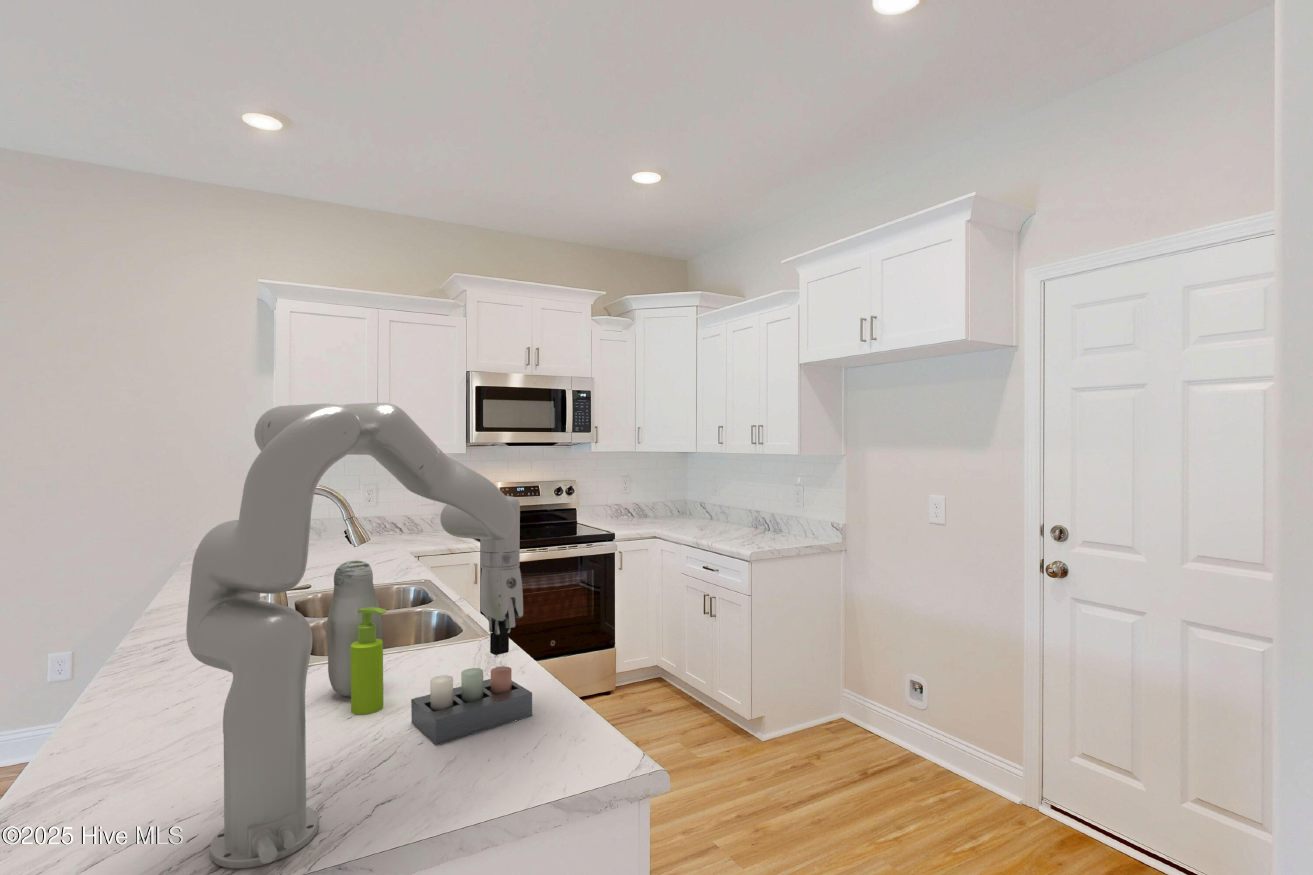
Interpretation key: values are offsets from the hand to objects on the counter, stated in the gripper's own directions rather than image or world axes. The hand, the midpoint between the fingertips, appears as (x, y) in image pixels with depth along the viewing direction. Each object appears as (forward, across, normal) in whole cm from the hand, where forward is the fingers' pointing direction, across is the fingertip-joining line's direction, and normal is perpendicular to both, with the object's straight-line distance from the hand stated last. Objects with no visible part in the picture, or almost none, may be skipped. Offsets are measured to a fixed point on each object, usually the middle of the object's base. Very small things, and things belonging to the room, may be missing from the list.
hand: (499, 652), depth 131 cm
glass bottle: (+12, +28, +19) cm, 36 cm away
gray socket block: (+12, 0, +5) cm, 13 cm away
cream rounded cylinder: (+8, 0, +11) cm, 14 cm away
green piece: (+8, 0, +5) cm, 9 cm away
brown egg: (+8, 0, -1) cm, 9 cm away
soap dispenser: (+12, +18, +19) cm, 29 cm away
